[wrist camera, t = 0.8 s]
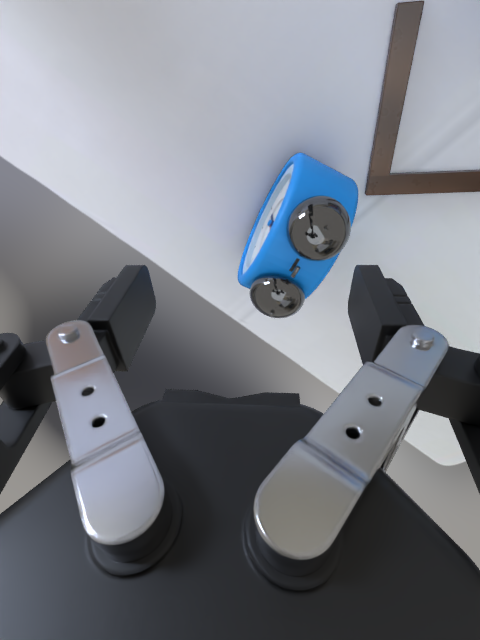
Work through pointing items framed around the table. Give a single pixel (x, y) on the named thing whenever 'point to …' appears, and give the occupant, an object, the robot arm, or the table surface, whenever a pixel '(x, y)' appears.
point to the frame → (390, 118)
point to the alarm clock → (297, 235)
